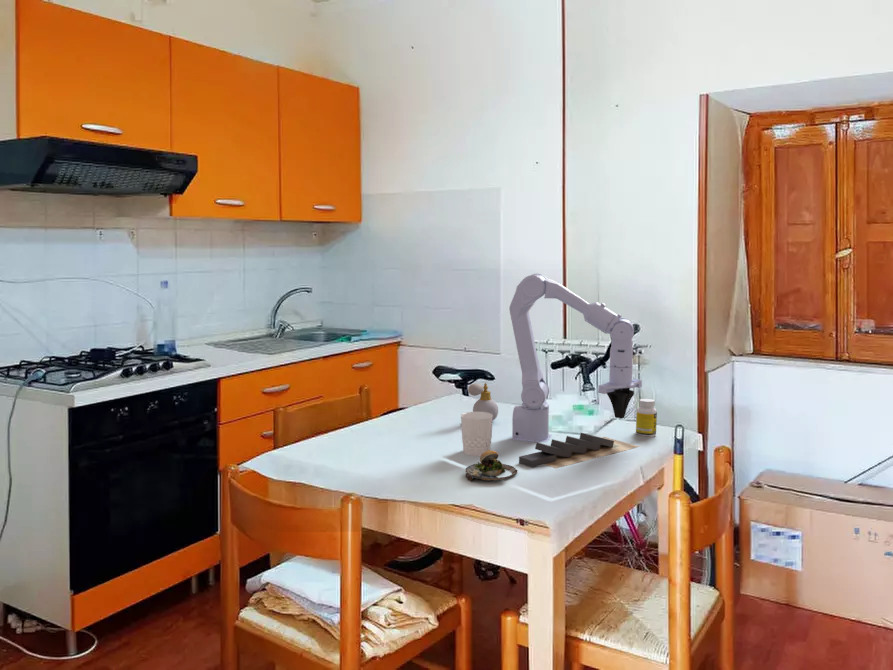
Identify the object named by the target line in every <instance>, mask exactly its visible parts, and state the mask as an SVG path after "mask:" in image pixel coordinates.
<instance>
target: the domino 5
mask: <svg viewBox="0 0 893 670" xmlns="http://www.w3.org/2000/svg"><path fill="white" fill-rule="evenodd" d="M578 439H582V440H585V441H589V442H592V443H597V444H601V445H606V446H610V447H613V444H614V441H612V440H609V439H605V438H602V437H601V436H596V435H591V434H588V433H583V432H580V436H579V438H578Z"/></svg>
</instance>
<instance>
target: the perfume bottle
mask: <svg viewBox="0 0 893 670" xmlns="http://www.w3.org/2000/svg"><path fill="white" fill-rule="evenodd" d="M488 388H489V386H488V384H487V382H484V385H482V384H480V383H471V384H469V386H468V389H467V391H468V393H469V395H471V396H474V397H475V396H479V395H480V397H479V399H477V400H476V402H475V403H474V404H473V407H472V412H486V413H490V414H492V415H493V419H492V422H493V421H495V419H496V418H497V417H498V416H499V415H498V414H499V406H498V404H497V402H496V401H495V400H494V399H493V398H492V397H491V391H489V390H488Z"/></svg>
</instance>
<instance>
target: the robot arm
mask: <svg viewBox="0 0 893 670" xmlns="http://www.w3.org/2000/svg"><path fill="white" fill-rule="evenodd" d="M543 296H544V297H543ZM542 297H543V298H544V299H552V300H553V299H557V300H558V301H560V302H562V303H564V304H565V305H567V306H568V307H570V308H572V309H574V310H576V311H577V312H579V313H581V314H582V315H583V319H584V322H585V323H588V324H590V325H591V326H592V327H593V328H596V329H597V330H598V331H600V332H602V333H604V334H608V335H609V336H610V338H611V340H610V341H611V343H610V344H611V347H610V349H609V378H608V380H609V381H607V382H605V383H603V384H599V385H598V387H597V388H598V390H597V391H598V394H603V395H607V396H608V399H609V400H610V403H611V406H612V409H613V414H614V418H616V419H624V418H625V416H626V413H627V409H628V407H629V404H630V402H631V399H632V398H633V396H634V395H635V390H633V389H635V388H642V386H643V385H642V384H643V383H642V382H643V380H642V379H636V378H635V379H634V378H633V363H634V362H633V361H634V359H633V358H634V357H633V356H634V348H633V345H634V342H633V338H634V336H635V332H634V330H635V329H634V325H633V324H632V322H631V321H630V320H629V319H628V318H626V317H622V314H621V313H616V312H614V311H612V310H611V309H609V308H607V307H606V306H607V305H606V303H604V302H600V303H599V302H598V301H596V302H591V303H590V302H588V301H586V300H585V299H583V298H582V297H580V296H579V295H578V294H576V293H574V292H573V291H571V289H569V288H567V287H566V286H564V285H563V284H561V283H559V282H557V281H555V280H554V279H552V278H548V277H546V276H545V275H543V274H541V273H532V274H531V275H528V276H525V277H524V278H523V279H522V280H521V281H520V283H518V285H517V286H516V288H515V292H514V295H513V297H512V300H511V302H510V305H509V314H510V320H511V325H512V329H513V336H514V339H515V344H516V345H515V346H516V350H517V355H518V361H519V364H520V368H521V369H520V370H521V384H522V391H521V394H520V398H521V405H515V406H514V407H513V410H512V419H511V420H512V421H511V423H512V425H511V426H512V427H511V428H512V434H511V435H512V437H511V440H512V441H513V440H514V441H525V442H535V443H548V441H549V440H550V439H551V438H552V436H553V434H549V433H550V432H549V431H550V430H549V429H550V428H549V425H550V424H549V419H550V417H549V416H550V415H549V413H550V410H549V409H550V408H549V407H550V405H549V404H548V402H547V400H546V399H547V398H548V397H549V393H550V387H549V385H548V384H547V382H546V380H545V379H544V376H543V375H544V374H543V372H542V370H541V368H540V362H539V358H538V353H537V346H536V341H535V337H534V332H533V326H532V322H531V317H530V310H531V309H532V307H533V306H534V305H535V304H536V302H537V301H538V300H539V299H541V298H542Z"/></svg>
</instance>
